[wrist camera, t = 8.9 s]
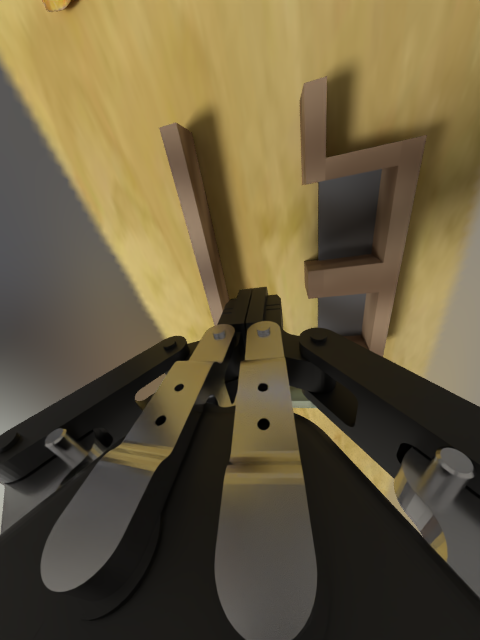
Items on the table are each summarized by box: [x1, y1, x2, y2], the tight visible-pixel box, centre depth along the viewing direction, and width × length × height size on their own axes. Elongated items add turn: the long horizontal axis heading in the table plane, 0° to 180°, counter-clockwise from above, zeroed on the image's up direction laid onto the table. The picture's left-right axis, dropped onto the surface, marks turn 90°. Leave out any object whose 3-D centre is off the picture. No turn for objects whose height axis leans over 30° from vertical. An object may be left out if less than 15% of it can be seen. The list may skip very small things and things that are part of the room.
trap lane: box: [159, 76, 427, 408], centre depth 17 cm, size 23×13×2 cm, turn 10°
